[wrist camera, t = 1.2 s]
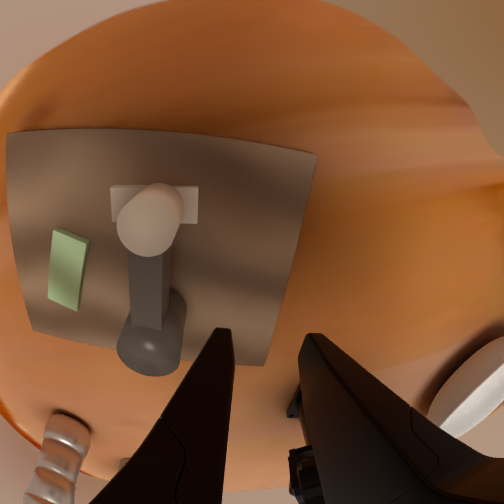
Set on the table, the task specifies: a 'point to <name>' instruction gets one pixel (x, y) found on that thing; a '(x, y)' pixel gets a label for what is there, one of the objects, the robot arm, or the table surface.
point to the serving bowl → (471, 391)
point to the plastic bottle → (58, 462)
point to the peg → (152, 282)
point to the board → (186, 239)
